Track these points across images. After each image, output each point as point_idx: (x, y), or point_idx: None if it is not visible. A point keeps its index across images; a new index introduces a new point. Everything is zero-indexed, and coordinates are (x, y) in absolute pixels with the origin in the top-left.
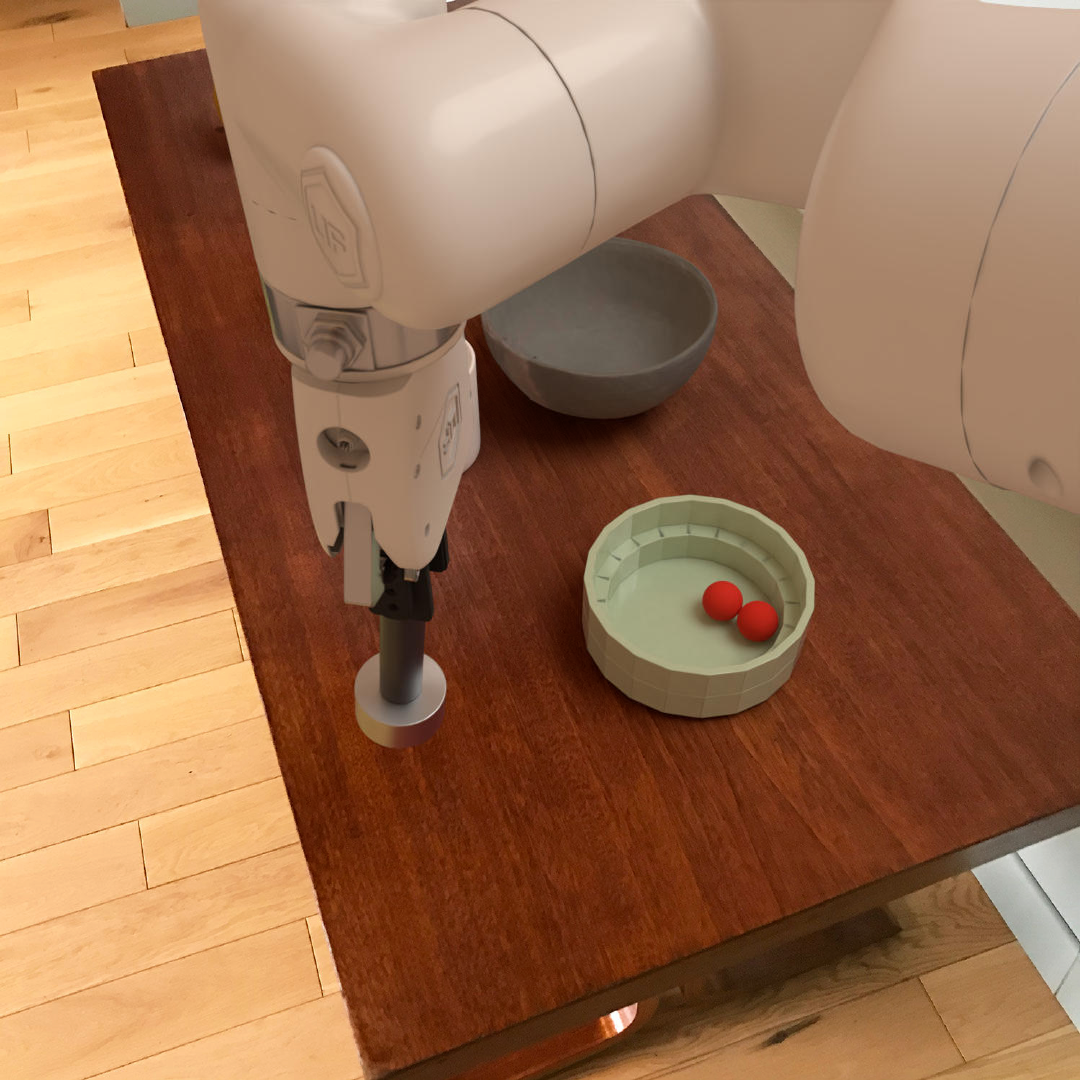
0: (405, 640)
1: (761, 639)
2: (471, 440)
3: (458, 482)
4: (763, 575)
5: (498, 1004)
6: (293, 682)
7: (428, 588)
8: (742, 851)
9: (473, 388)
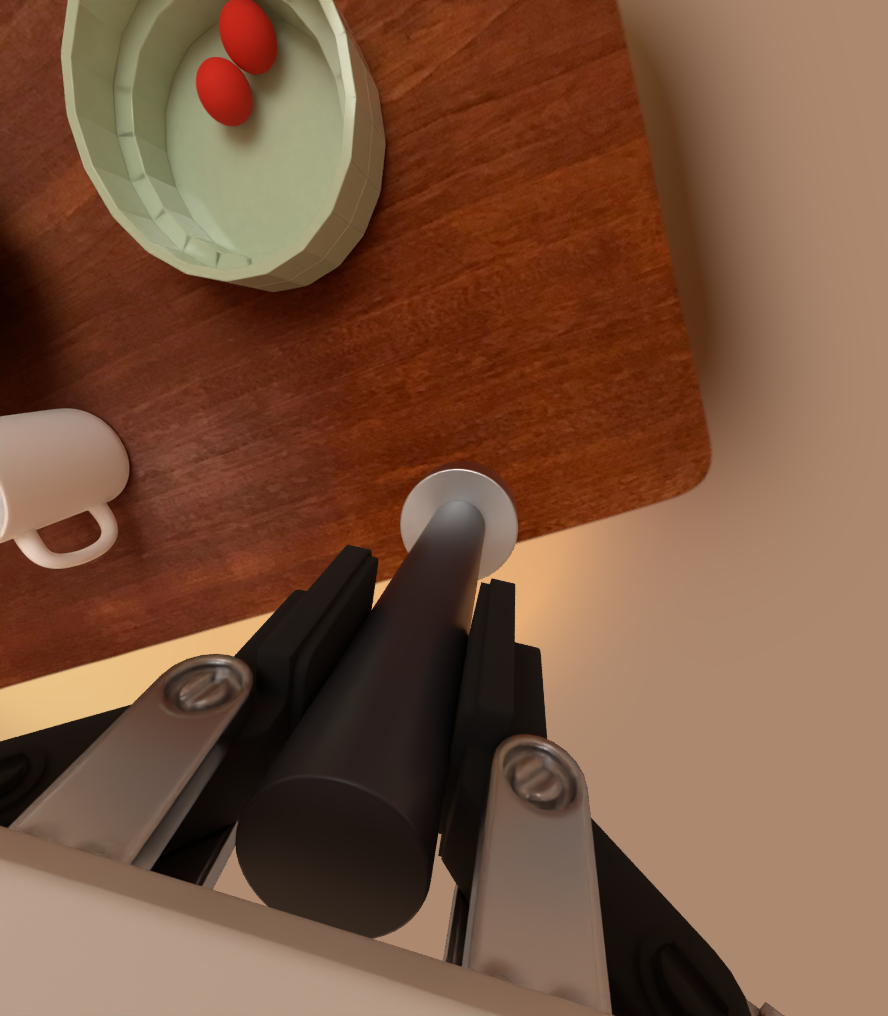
0: (476, 578)
1: (275, 34)
2: (62, 420)
3: (131, 939)
4: (176, 20)
5: (680, 380)
6: None
7: (513, 654)
8: (550, 96)
9: None
